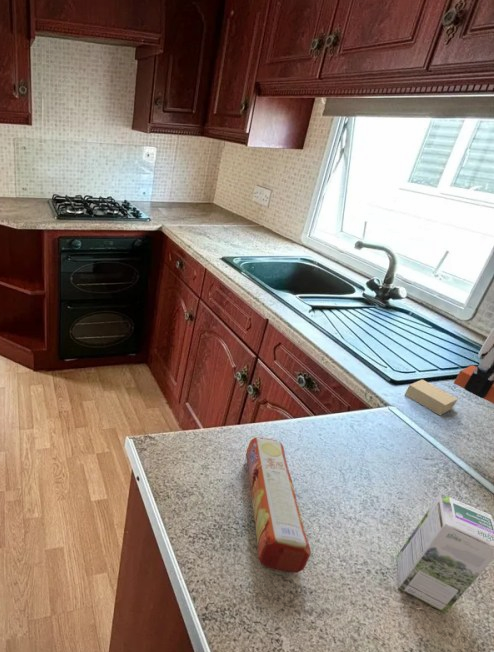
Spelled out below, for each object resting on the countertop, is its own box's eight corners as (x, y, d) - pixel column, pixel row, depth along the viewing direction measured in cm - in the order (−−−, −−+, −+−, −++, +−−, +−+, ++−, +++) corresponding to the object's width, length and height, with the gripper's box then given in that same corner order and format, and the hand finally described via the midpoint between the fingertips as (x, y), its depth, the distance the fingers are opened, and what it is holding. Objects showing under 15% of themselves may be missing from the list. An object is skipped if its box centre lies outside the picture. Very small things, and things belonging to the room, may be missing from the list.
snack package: (242, 456, 76) (250, 429, 73) (278, 464, 75) (288, 437, 72) (253, 569, 57) (266, 539, 54) (302, 581, 56) (318, 551, 53)
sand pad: (452, 408, 96) (458, 398, 94) (439, 415, 93) (445, 405, 92) (417, 388, 102) (422, 379, 101) (404, 394, 99) (409, 384, 98)
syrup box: (440, 577, 58) (492, 511, 52) (446, 616, 54) (503, 549, 47) (395, 555, 61) (439, 489, 54) (397, 590, 56) (445, 523, 50)
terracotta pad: (507, 398, 76) (515, 385, 75) (496, 405, 73) (504, 392, 72) (465, 377, 81) (472, 364, 80) (453, 383, 79) (460, 370, 77)
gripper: (542, 323, 62) (484, 414, 70) (578, 306, 70) (522, 389, 78) (485, 303, 68) (437, 389, 76) (524, 289, 76) (477, 368, 84)
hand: (481, 388), depth 77 cm, fingers closed on terracotta pad, 5 cm apart
